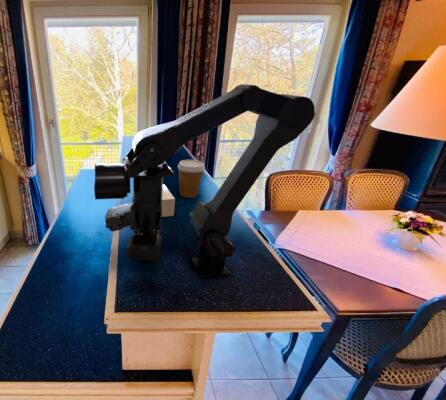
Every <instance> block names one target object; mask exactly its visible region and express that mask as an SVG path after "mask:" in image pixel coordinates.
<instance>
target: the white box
mask: <svg viewBox="0 0 446 400" xmlns="http://www.w3.org/2000/svg"><path fill="white" fill-rule="evenodd" d="M175 204H176V198H175V197H174V196H173V194H172V193H171V191H170V190H169V189H168V187H167V186H166V185H165V184H164V183H163V191H162V218H163V217H164V218H165V217H174V216H175Z"/></svg>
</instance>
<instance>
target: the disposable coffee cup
mask: <svg viewBox="0 0 446 400" xmlns="http://www.w3.org/2000/svg"><path fill="white" fill-rule="evenodd" d="M177 168H178V181H179V182H178V185H179V195H180V196H181V197H184V198H187V199H188V198H189V199H190V198H196V197H197V196H198V194H199V190H200V187H201V186H200V185H201V181H202V178H203V175H204V171H205V170H206V167H205V163H204V162H203V161H201V160H197V159H182V160H179V163H178V165H177Z"/></svg>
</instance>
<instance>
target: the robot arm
mask: <svg viewBox="0 0 446 400" xmlns="http://www.w3.org/2000/svg"><path fill="white" fill-rule="evenodd" d="M246 112H250V113H252V114H255V115H258V116H257V119H256V121H255V126H254V132H253V136H252V139H251V140H250V142H249V143H248V145H247V147H246V148H245V150H244V151H243V152H242V154H241V156H240V157H239V158H238V160H237V162H236V163H235V165H234V166H233V167H232V169H231V171H230V172H229V174H228V175H227V177H226V178H225V180H224V181H223V182H222V184H221V186H220V187H219V189H218V190H217V192H216V193H215V195H214V196H213V197H212V199H210V200H209V201H207V202H205V203H204V202H203V201H201V200H199V201H198V202H197V204H196V206H195V208H194V209H193V211H192V212H191V213H189V217H190V219H189V220H188V221H189V222H188V223H189V227H190V229H191V231H192V233H193V235H194V237H195V239H196V241H197V242H198V244H199V246H198V255H197V257H192V258H191V262H192V264H193V265H194V268H195V270H196V271H197V272H198V274H199V276H200V277H201V278H202V279H208V278H216V277H224V276H229V275H230V271H229V270H228V269H227V267H226V265H225V263H226V259H227V257H228V258H229V257H232V256H233V254H234V253H235V251H236V247H235V246H234V244H233V243H232V242H231V240H230V239H229V237H228V235H229V232H230V230H231V228H232V221H233V217H234V216H233V215H234V212H235V211H236V209H237V208H238V207H239V205H240V204H241V203H242V201H243V200H244V198H245V197H246V195H247V194H248V192H249V191H250V190H251V188H252V187H253V186H254V184H255V183H256V181H257V180H258V179H259V178H260V176H261V174H262V173H263V172H264V170H265V169H266V167H267V166H268V165H269V164H270V162H271V160H272V159H273V158H274V156H275V155H276V153H277V152H278V151H279V150H280V149H281V148H283V147H285V146H287V145H288V144H289V143H291V142H293V141H295V140H296V139H297V138H298V137H299V136H300V135H302V133H304V131H305V130H307V128H308V127H309V126H310V124H312V122H313V120H314V118H315V116H316V111H315V104H314V102H313V101H312V99H311V98H309V97H307V96H303V95H294V94H286V93H276V92H274V91H273V92H272V91H269V90H266V89H264V88H260V86H258V85H255V84H245V83H244V84H243V83H241V84H238V85H236V86H235V87H234V88H233V89H231V90H229V91H227V92H226V93H224V94H222V95H221V96H218V97H217V98H215V99H213V100H211V101H209V102H207V103H206V104H203V105H202V106H200V107H198V108H196V109H194V110H193V111H190V112H188V113H187V114H185V115H183V116H181V117H179V118H177V119H176V120H173V121H170V122H165V123H161V124H157V125H154V126H150V127H148V128H144V129H142V130H140V131H138V132H137V133H136V134H135V135H134V136H133V139H132V143H131V144H132V145H131V146H132V147H131V148H130V149H129V151H128V152H127V153H126V154H125V156H124V158H123V159H122V163H102V162H100V163H95V164H94V184H93V185H94V186H93V190H94V199H95V200H120V199H126V198H128V194H131V179H132V192H133V193H132V199H131V202H129V203H124V204H123V203H122V204H119V205H117V206H112V207H111V208H109V209H107V211H106V212H105V213H106V214H105V215H104V222H105V228H106V229H108V230H109V231H110V232H116V231H120V230H123V229H124V228H127V227H129V229H130V230H132V232H133V233H134V234H131V236H129V238H128V241H127V247H126V257H127V258H128V259H129V260H136V261H137V260H139V261H144V262H149V261H152V262H159V261H161V260H162V249H163V246H162V241H163V240H162V236H161V233H162V218H163V217H162V191H163V184H164V178H173V177H175V172H174V171H173V169H172V168H171V167H170V166H169V165H168V163H167V161H168V160H169V159H171V158H172V157H173V156H175V155H176V153H178V151H179V150H181V148H182V147H183V146H185V145H187V143H189V142H191V141H193V140H194V139H196V138H198V137H200V136H202V135H204V134H206V133H208V132H210V131H212V130H214V129H215V128H217V127H219V126H221V125H223V124H225V123H227V122H229V121H231V120H233V119H235V118H237V117H239V116H240V115H243V114H245V113H246Z"/></svg>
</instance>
